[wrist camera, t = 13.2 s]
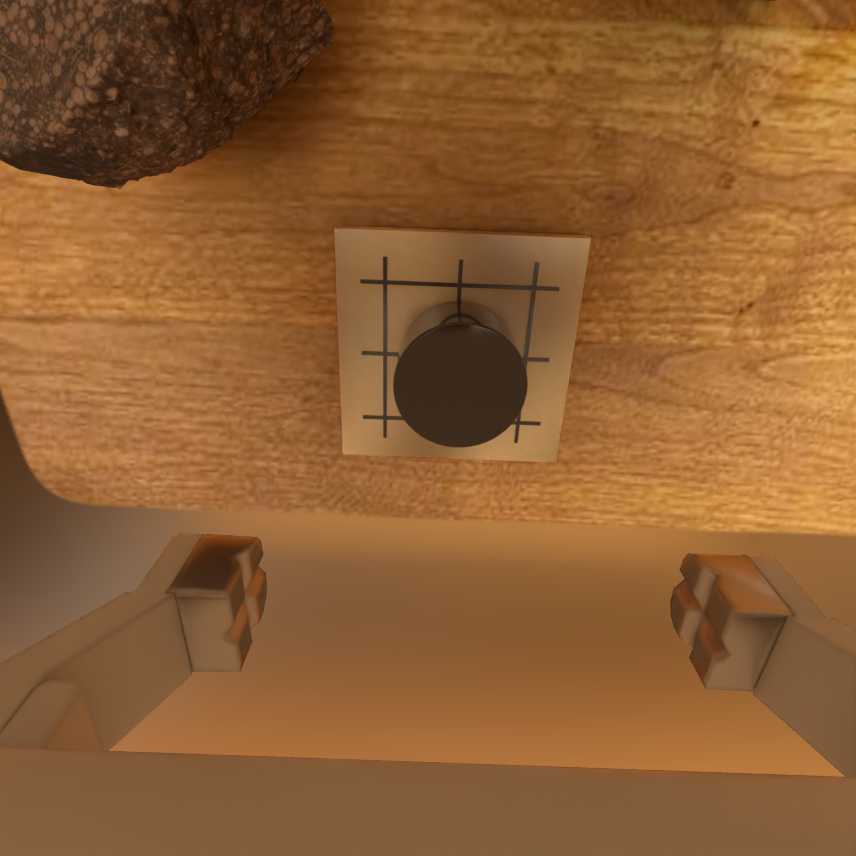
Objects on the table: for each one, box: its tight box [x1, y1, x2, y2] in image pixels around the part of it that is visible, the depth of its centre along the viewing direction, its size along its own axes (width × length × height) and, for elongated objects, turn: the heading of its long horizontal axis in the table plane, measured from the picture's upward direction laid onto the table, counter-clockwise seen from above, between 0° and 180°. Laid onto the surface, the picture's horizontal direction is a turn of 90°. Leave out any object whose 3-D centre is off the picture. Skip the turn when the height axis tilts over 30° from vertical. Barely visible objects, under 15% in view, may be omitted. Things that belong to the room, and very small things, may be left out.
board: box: [334, 225, 591, 463], centre depth 24 cm, size 10×10×1 cm
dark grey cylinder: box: [393, 301, 528, 448], centre depth 22 cm, size 5×5×3 cm
